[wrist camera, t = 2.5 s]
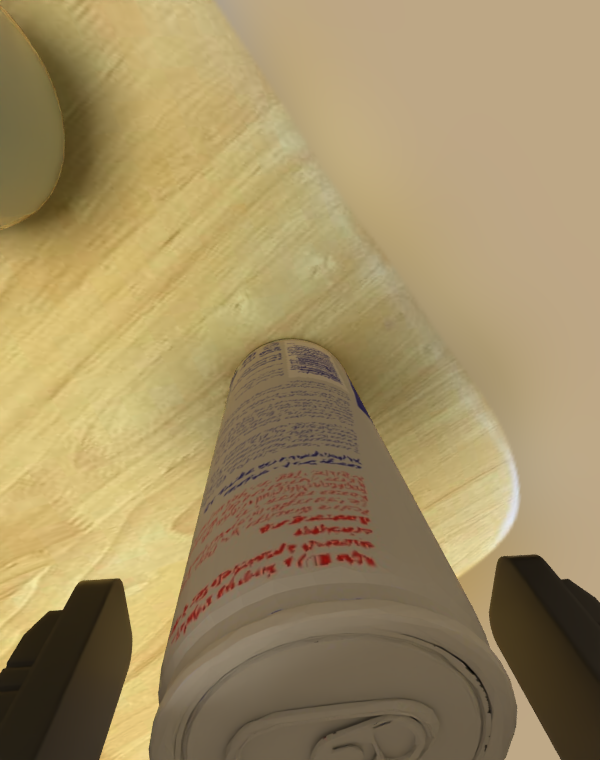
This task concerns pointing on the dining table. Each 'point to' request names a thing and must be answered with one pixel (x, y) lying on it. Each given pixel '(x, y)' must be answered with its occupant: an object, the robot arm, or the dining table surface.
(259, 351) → the beverage can
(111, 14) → the dining table surface
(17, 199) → the cup
